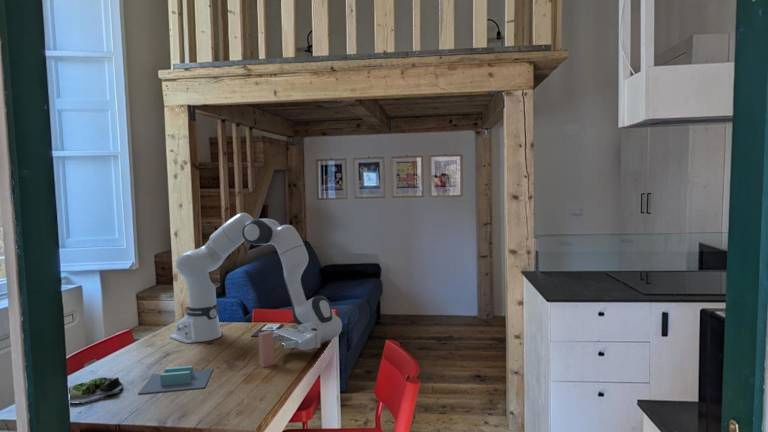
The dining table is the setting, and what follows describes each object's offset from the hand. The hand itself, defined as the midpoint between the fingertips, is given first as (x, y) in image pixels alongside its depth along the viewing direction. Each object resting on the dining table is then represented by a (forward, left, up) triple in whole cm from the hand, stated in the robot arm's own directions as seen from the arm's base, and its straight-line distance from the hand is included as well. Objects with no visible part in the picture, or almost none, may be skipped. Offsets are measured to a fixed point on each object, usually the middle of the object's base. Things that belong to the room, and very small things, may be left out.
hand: (276, 343), depth 178 cm
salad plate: (-37, -45, -7) cm, 59 cm away
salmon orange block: (-1, -4, -7) cm, 8 cm away
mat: (-19, -28, -7) cm, 35 cm away
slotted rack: (-19, -28, -7) cm, 35 cm away
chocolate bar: (-29, +30, -8) cm, 42 cm away
